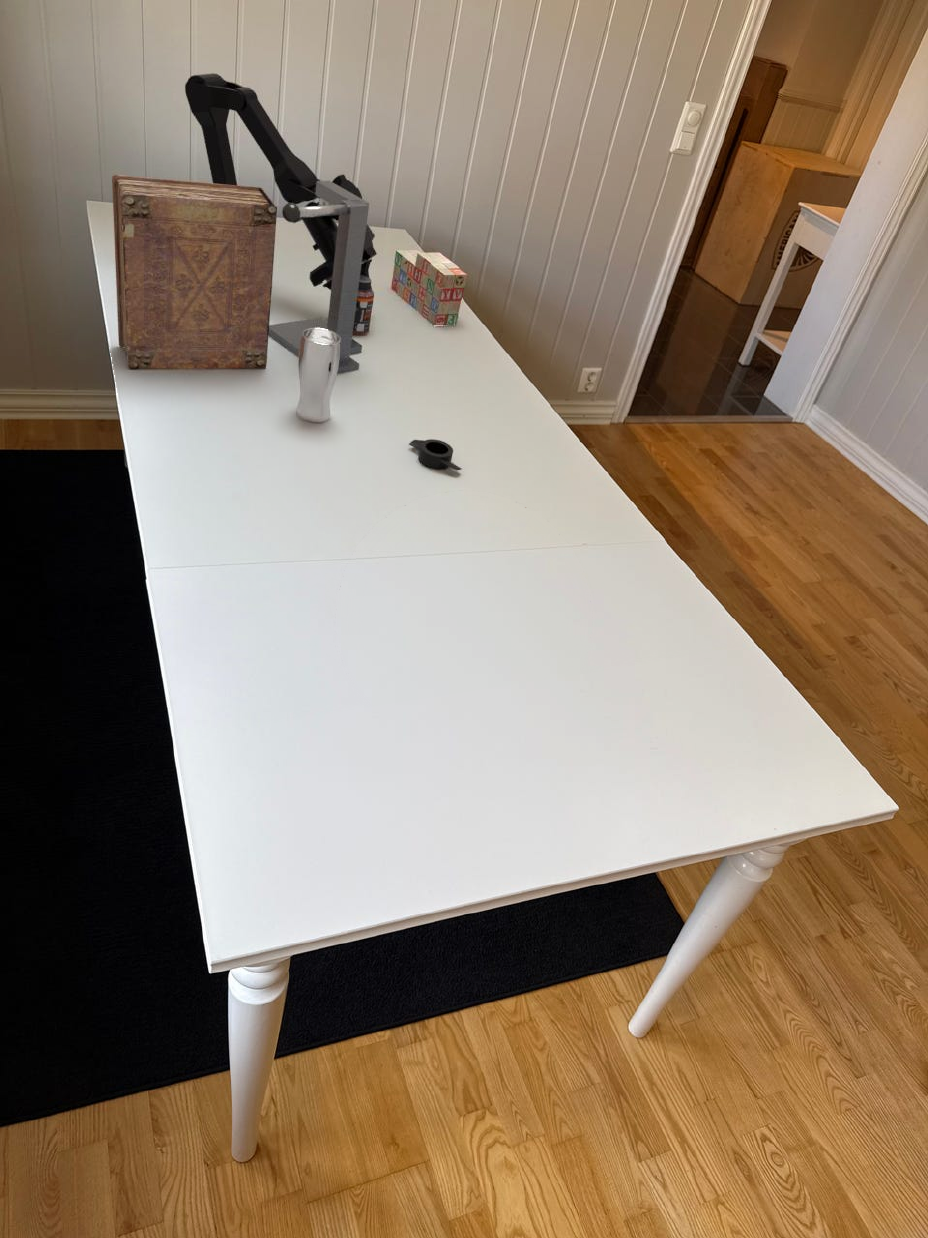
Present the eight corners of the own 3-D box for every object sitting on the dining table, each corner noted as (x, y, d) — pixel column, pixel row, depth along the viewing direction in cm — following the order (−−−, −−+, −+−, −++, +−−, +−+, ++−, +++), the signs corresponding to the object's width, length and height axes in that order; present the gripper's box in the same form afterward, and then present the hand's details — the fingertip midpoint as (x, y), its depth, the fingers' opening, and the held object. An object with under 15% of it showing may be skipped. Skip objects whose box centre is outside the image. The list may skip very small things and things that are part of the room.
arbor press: (222, 339, 173) (227, 168, 153) (320, 323, 188) (337, 166, 168) (281, 385, 164) (295, 210, 144) (379, 365, 179) (404, 203, 159)
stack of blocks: (389, 288, 212) (397, 236, 204) (412, 288, 215) (420, 236, 208) (434, 327, 200) (444, 273, 192) (456, 326, 203) (467, 273, 195)
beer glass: (315, 428, 155) (324, 348, 145) (285, 412, 157) (292, 332, 147) (340, 416, 160) (350, 338, 150) (310, 401, 162) (318, 323, 152)
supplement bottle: (367, 338, 188) (374, 286, 180) (339, 332, 187) (345, 280, 180) (370, 327, 192) (377, 276, 185) (343, 321, 192) (349, 270, 184)
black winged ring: (446, 447, 160) (449, 433, 158) (462, 477, 153) (466, 463, 151) (405, 446, 157) (408, 432, 155) (421, 477, 150) (424, 463, 148)
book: (127, 369, 157) (119, 193, 138) (118, 346, 163) (110, 173, 144) (266, 368, 168) (277, 205, 149) (254, 347, 174) (263, 186, 155)
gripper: (328, 220, 169) (370, 296, 173) (374, 204, 183) (412, 274, 187) (290, 249, 175) (332, 321, 180) (337, 230, 189) (375, 297, 194)
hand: (364, 302), depth 185 cm, fingers closed on supplement bottle, 6 cm apart
